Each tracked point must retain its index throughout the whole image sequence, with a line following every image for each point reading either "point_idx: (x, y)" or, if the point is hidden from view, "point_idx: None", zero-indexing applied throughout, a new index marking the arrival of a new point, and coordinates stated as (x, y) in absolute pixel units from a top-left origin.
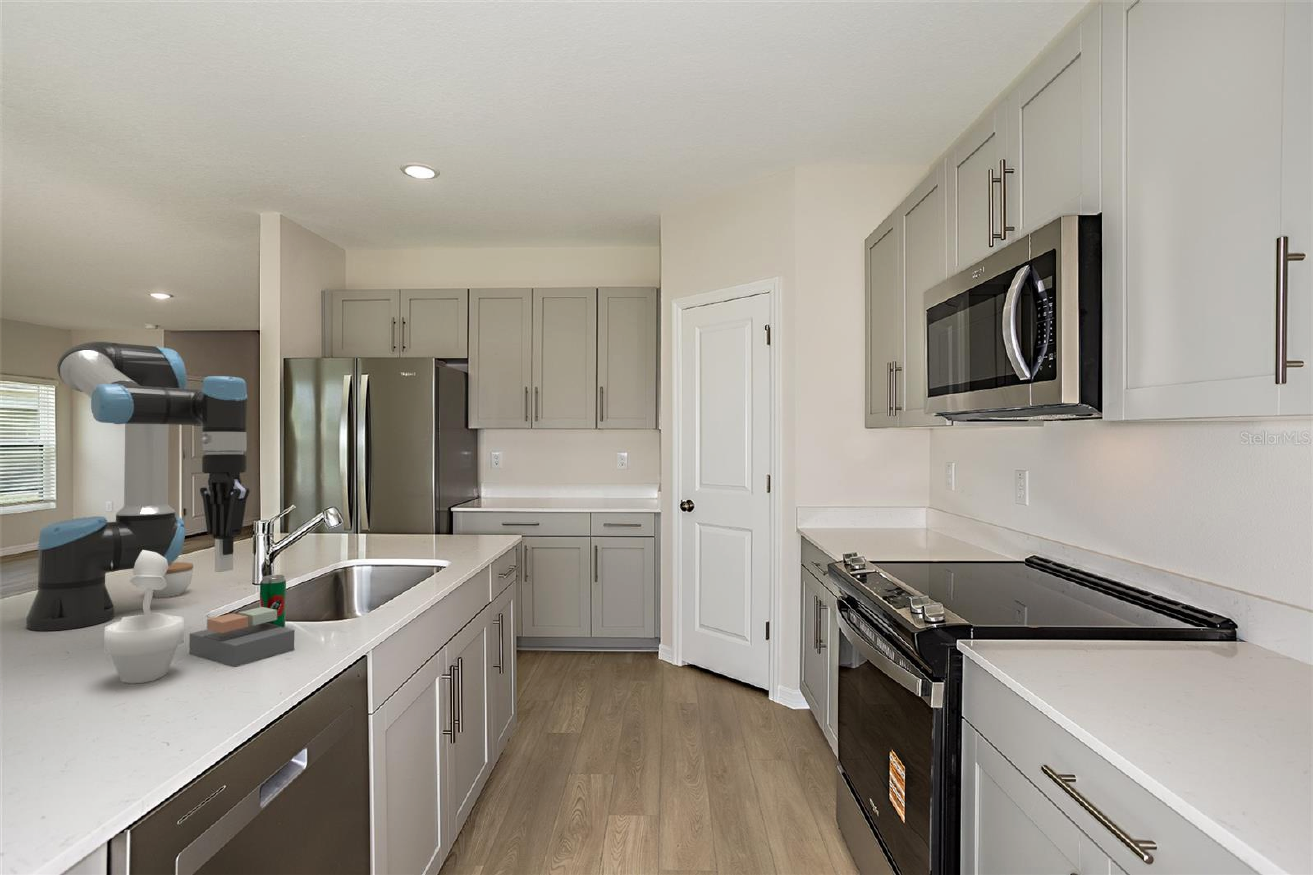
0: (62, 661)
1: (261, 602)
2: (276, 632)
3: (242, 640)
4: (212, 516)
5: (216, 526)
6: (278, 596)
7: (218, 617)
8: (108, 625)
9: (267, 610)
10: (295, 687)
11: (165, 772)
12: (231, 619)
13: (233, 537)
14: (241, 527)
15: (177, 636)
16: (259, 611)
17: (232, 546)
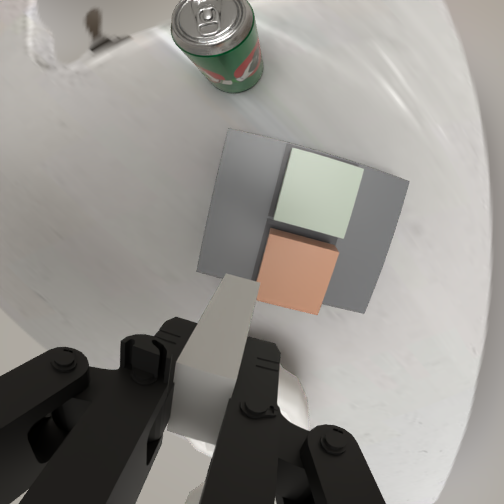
0: (73, 330)
1: (212, 74)
2: (384, 210)
3: (354, 282)
4: (7, 482)
5: (137, 490)
6: (255, 48)
7: (268, 280)
8: (192, 444)
9: (341, 180)
10: (482, 331)
11: (446, 465)
12: (317, 286)
13: (281, 418)
14: (370, 481)
15: (305, 404)
16: (327, 195)
17: (278, 378)
